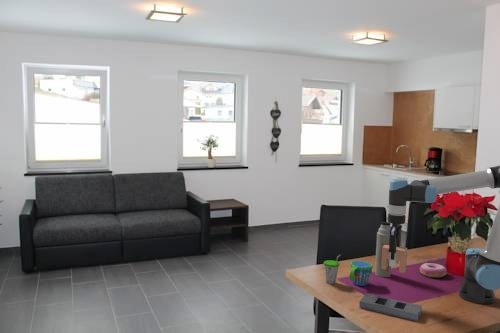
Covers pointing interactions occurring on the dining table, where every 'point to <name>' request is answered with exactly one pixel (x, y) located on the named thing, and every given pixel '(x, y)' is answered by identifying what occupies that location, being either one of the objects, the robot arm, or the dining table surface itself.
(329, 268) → the cup
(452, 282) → the dining table surface
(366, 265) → the snack cup
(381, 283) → the dining table surface
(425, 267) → the donut
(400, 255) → the tan bridge block
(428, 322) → the dining table surface
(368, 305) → the rail
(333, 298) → the dining table surface
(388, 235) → the thermos bottle
